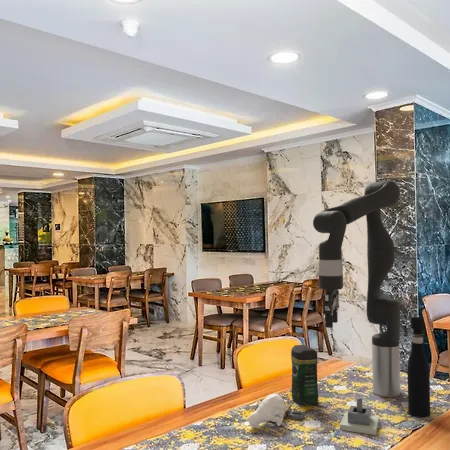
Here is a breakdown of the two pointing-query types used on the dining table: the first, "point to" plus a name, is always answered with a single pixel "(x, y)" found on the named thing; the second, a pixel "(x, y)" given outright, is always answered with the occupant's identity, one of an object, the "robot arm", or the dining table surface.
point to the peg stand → (356, 427)
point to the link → (359, 416)
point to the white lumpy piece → (268, 411)
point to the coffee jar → (304, 375)
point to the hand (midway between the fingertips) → (331, 324)
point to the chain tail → (293, 414)
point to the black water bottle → (418, 373)
